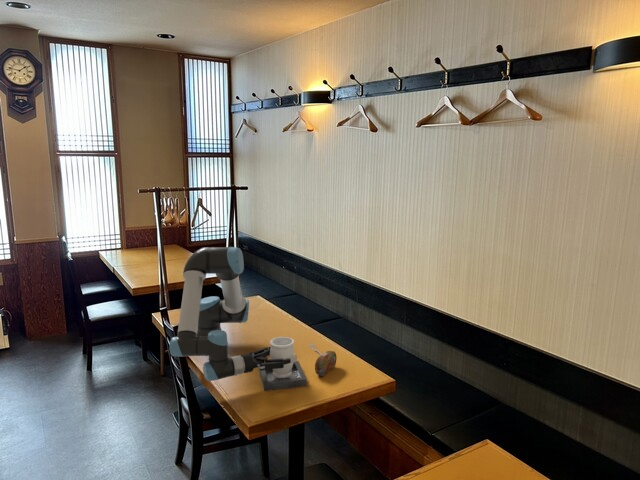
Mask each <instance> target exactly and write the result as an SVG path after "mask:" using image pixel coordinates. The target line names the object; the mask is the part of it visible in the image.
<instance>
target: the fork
mask: <svg viewBox="0 0 640 480" xmlns="http://www.w3.org/2000/svg"><path fill="white" fill-rule="evenodd" d="M308 346H309V348H310V349H311V350H315V352H317V353H318V354H319V355H320V356H321V355H323V354H322V353H321V352H320V351H319V350H318V348H317V347H316V346H315V343H313V342H310V343H308Z"/></svg>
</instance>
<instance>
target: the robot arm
mask: <svg viewBox="0 0 640 480" xmlns="http://www.w3.org/2000/svg"><path fill="white" fill-rule="evenodd" d="M244 263H245V262H244V254H243V251H242V250H241V248H240V247H235V246H224V247H223V246H219V247H217V246H216V247H215V246H214V247H212V246H211V247H210V246H207V247H201V248H199V249H197V250H196V251H194V252H193V253H192V254H191V255H190V257H189V258H188V259H187V261H186V263H185V264H184V268H183V273H182V277H183V279H184V282H183V291H182V299H181V305H180V313H179V319H178V328H177V336H173V337H171V339H170V342H169V353H170V355H171V356H172V357H182V358H183V357H206V356H207V357H208V361H206V362H204V363H203V364H202V365H203V367H202V372H203V377H204V379H205V381H207V382H212V381H218V380H220V379H221V380H222V379H226V378H229V377H234V376H235V377H236V376H238V375H242V374H248V373H252V372H253V371H254V369H255V368H258V369H259V368H260V371H262V370H266V369H278V368H284V365H285V364H289V363H293V362H297V361H298V355H296V354H294V356H290V357H286V358H282V359H270V358H267V357H270V348H271V346H266V347H263V348H260V349H258V350H255V351H252V352H248V353H243V354H241V355H234V356H230V357H229V347H228V346H229V345H228V344H229V341H228V334H227V331H225V330H223V329H222V328H221V324H233V323H234V324H242V323H247V322H248V320H249V308H250V307H249V306H250V300H249V299H246V298H245V297H244V296H243V295H242V289H241V283H240V282H241V281H240V277H239V276H240V274H243V272H244V270H245V264H244ZM207 274H208V275H210V274H211V275H212V274H213V275H215V276H216V277H217V278H218V279H219V280H220V285H221V290H222V294H223V298H224V299H220V297H219V296H216V295H215V296H213V295H212V296H207V297H204V298H202V292H203V291H202V290H203V284H204V283H203V282H204V281H205V280H206V276H207Z"/></svg>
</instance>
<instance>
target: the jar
mask: <svg viewBox="0 0 640 480" xmlns="http://www.w3.org/2000/svg"><path fill="white" fill-rule="evenodd" d="M294 344H295V340H294V338H291V337H287V336H279V337H278V336H277V337H274V338H271V340H270V341H269V346H270V347H271V348H270V355H269V359H282V358H286V357H290V356H294V355H295V349H294ZM292 366H293V363H289V364H285V365H284V368H278V369H273V376H274V377H277V378H286V377H289V376H290V375H291V374H292V371H291V369H292Z"/></svg>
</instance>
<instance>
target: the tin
mask: <svg viewBox="0 0 640 480" xmlns="http://www.w3.org/2000/svg"><path fill="white" fill-rule="evenodd" d="M336 363H337V354H336V351H335V350H334V351H332V350H326V351H325V352H324V353H323V354H322V355H320V356H318V357H317V359H316V361H315V364H314V370H315V374H316V375H318V376H321V377H324V376H325V375H327V374H328V373H330V372H331V371H333V369H334V368H335V366H336Z"/></svg>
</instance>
